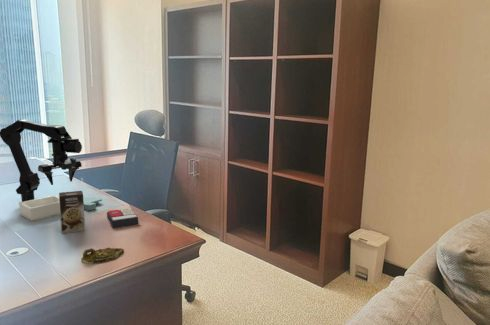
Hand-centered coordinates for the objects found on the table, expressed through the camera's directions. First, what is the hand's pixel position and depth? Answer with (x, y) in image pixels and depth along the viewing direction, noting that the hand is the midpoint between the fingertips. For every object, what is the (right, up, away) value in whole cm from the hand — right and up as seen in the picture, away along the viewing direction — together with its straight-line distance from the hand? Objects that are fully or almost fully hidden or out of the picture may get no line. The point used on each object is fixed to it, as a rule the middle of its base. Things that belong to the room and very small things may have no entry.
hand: (61, 183), depth 185 cm
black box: (+34, -17, -14) cm, 41 cm away
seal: (+39, -25, -48) cm, 67 cm away
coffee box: (+17, -19, -25) cm, 36 cm away
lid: (+9, -12, +4) cm, 16 cm away
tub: (-4, -14, -8) cm, 17 cm away
